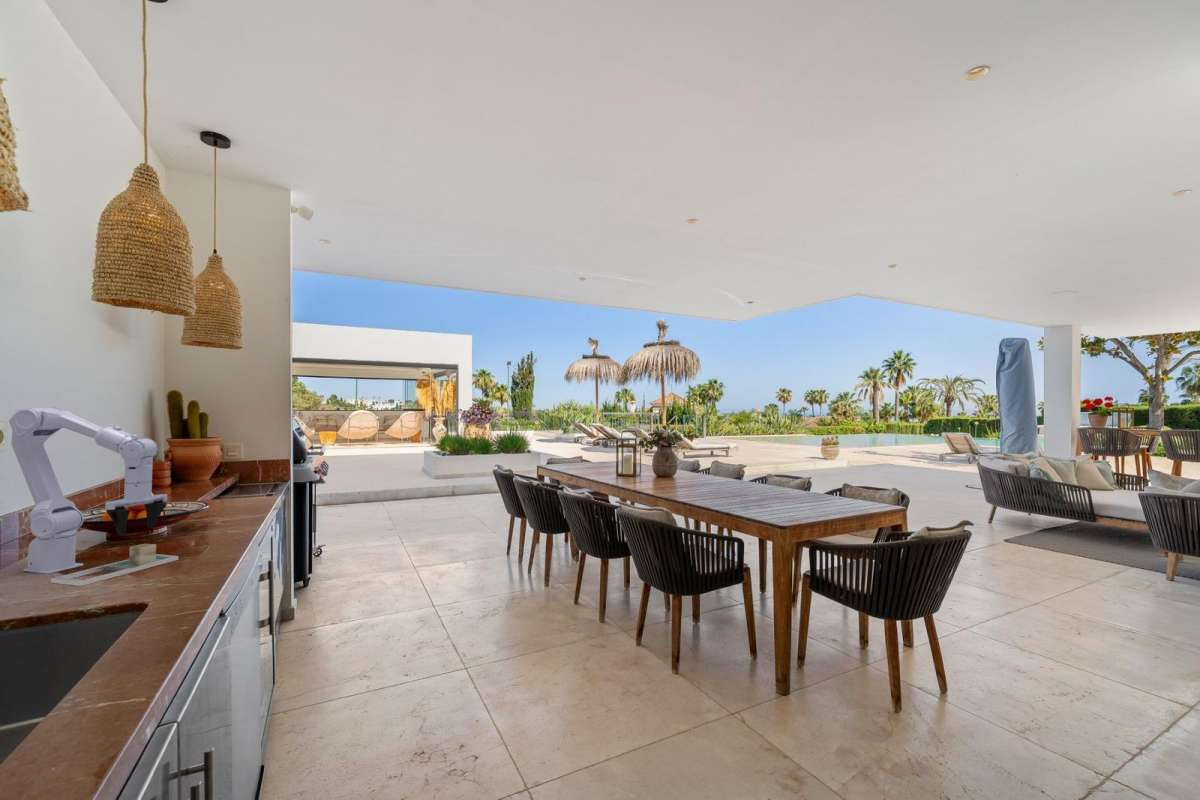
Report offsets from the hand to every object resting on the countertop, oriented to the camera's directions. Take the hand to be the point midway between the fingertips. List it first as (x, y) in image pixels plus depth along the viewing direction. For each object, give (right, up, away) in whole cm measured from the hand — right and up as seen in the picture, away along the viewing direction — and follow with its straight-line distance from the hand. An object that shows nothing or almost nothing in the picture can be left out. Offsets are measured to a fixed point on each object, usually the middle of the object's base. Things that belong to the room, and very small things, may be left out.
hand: (136, 531), depth 145 cm
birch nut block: (+1, -9, +1) cm, 9 cm away
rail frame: (-1, -9, -5) cm, 10 cm away
